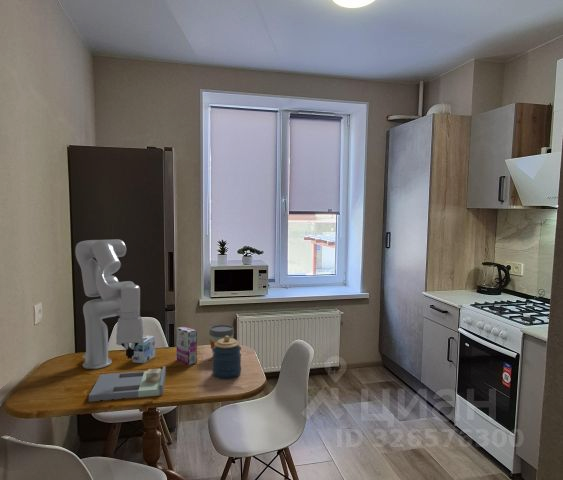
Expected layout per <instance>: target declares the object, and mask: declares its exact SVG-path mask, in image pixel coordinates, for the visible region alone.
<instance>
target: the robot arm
mask: <svg viewBox="0 0 563 480" xmlns="http://www.w3.org/2000/svg"><path fill="white" fill-rule="evenodd" d="M74 250H75V257H76V260H77V263H78V265H79V267H80V269H81V276H82V285H83V290H84V294H85V296H87V297H88V298H93V297H94V298H95V297H100V298H96V299H91V300H88V301H86V302H85V303H84V304H83V307H82V312H83V317H84V325H85V353H84V355H82V357H81V358H82V359H85V361H84V362H83V363H82V367H83V368H84V369H87V370H96V369H97V370H98V369H104V368H105V367H108V366H110V365H111V364H112V362H113V361H112V358H110V357H109V334H108V333H109V332H108V331H109V330H108V325H107V324H106V322H104V321H103V319H108V318H113V317H117V316H118V317H119V318H118V319H117V326H116V334H115V335H116V336H115V340H116V342H115V344H116V345H117V346H118V345H119V346H122V347H123V348H124V349H125V357H127V360H129V359H131V360H133V356H134V348H135V347H136V346H137V345H139V344H143V342H144V340H143V335H144V326H143V318H142V316H141V288H140V286H139V285H138V284H135V283H134V282H133V281H130V280H126V281H119V279H118V278H117V276H115V275H113V274H115V273H116V272H118V271H119V270H120V268H121V267H122V263H121V261H120V259H119V258H121V257H124V256H126V253H127V246H126V244H125V242H124V241H123V240H122V239H119V238H118V239H113V238H112V239H90V240H88V239H87V240H82V241H80V242H78V243H77V244H76V246H75V249H74ZM130 344H131V345H130Z"/></svg>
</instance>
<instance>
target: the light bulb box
mask: <svg viewBox="0 0 563 480" xmlns="http://www.w3.org/2000/svg"><path fill="white" fill-rule="evenodd" d="M143 340H144V342H143V344H139V345H137V346H136V347H135V348H134V356H132V363H138V364H145V363H147V362H149V361H150V360H152V359H153V358H155V357H156V336H155V335H147V334H143Z"/></svg>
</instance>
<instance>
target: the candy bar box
mask: <svg viewBox="0 0 563 480" xmlns="http://www.w3.org/2000/svg"><path fill="white" fill-rule="evenodd" d="M197 330H198V329H197ZM197 330H196V329H194V328H190V327H187V326H180V327H176V361H178V362H180V363H182V364H185V365H187V366H192V365H195V364H198V349H197V348H198V331H197Z"/></svg>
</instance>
